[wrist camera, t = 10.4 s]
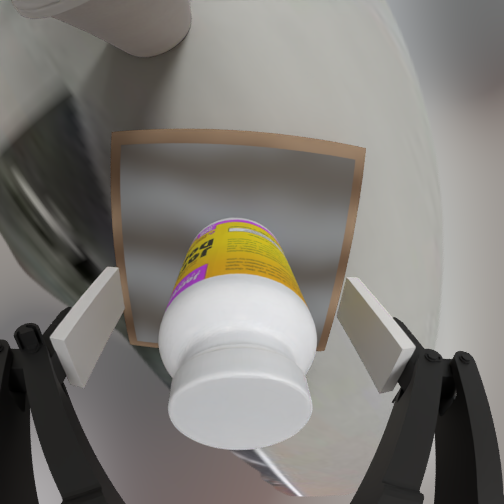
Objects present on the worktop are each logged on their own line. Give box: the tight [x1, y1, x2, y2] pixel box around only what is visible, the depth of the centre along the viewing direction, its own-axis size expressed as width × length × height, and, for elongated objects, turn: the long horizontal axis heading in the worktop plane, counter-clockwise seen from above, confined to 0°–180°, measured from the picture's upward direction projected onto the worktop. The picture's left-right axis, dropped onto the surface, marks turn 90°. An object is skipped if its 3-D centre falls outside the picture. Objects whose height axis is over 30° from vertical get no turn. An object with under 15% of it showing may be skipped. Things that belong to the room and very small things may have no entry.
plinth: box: [111, 129, 366, 351], centre depth 21 cm, size 18×18×4 cm
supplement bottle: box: [158, 218, 317, 450], centre depth 13 cm, size 7×7×13 cm
